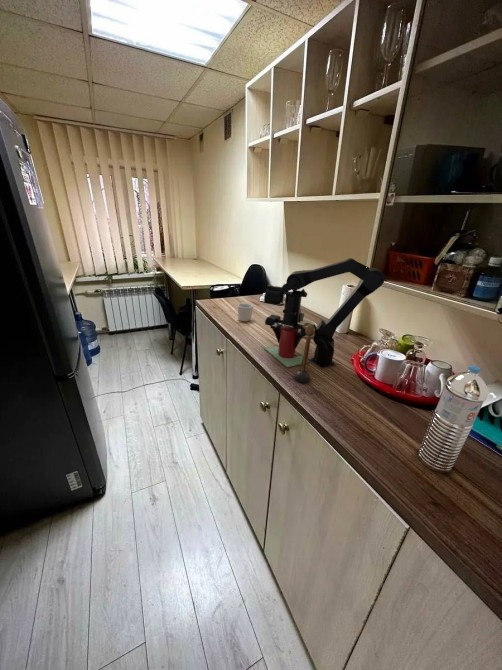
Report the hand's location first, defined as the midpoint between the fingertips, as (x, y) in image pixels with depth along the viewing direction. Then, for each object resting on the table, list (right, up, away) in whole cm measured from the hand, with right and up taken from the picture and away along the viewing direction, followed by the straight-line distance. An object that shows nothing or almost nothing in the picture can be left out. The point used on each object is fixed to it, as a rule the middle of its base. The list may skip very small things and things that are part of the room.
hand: (287, 345), depth 106 cm
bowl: (+10, +5, +25) cm, 27 cm away
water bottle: (+28, -25, -43) cm, 57 cm away
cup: (-18, +16, +35) cm, 43 cm away
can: (0, -4, +2) cm, 4 cm away
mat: (0, -4, +2) cm, 5 cm away
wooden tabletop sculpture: (+3, -11, -13) cm, 17 cm away
